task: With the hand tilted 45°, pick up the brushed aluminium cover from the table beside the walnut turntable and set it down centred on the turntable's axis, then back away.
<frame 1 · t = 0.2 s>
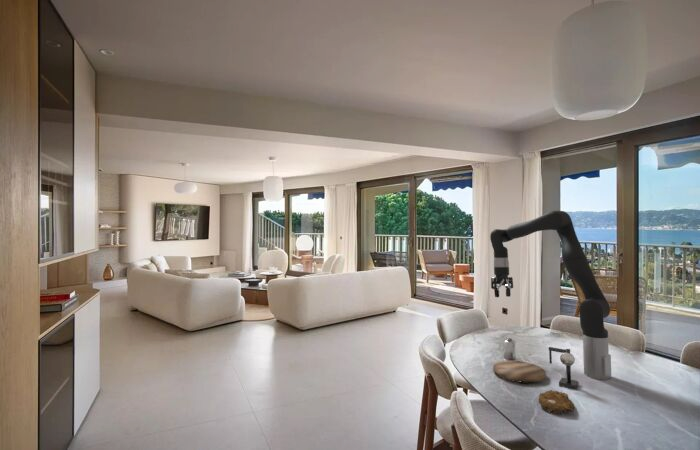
hand: (502, 296, 196), 28 cm above the table, tool pointing down, fingers open, 8 cm apart
cover: (509, 361, 178), on the table
decorative rock: (556, 407, 133), on the table
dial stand: (568, 385, 150), on the table
turntable: (518, 370, 161), point 2 cm above the table, hinge at 0.0°
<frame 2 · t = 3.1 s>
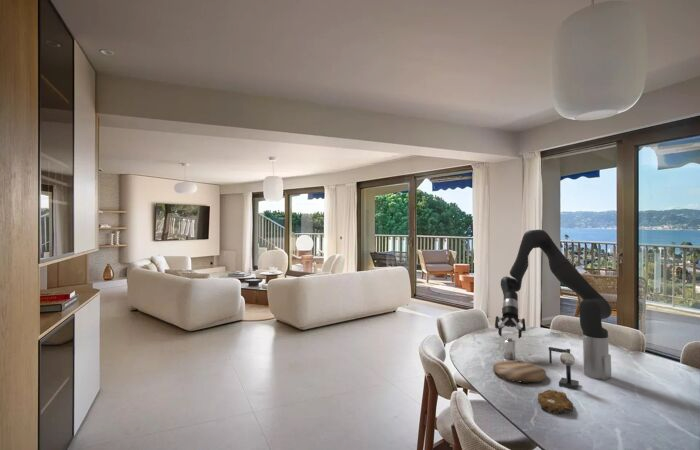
hand: (509, 336, 183), 11 cm above the table, tool tilted 45°, fingers open, 8 cm apart
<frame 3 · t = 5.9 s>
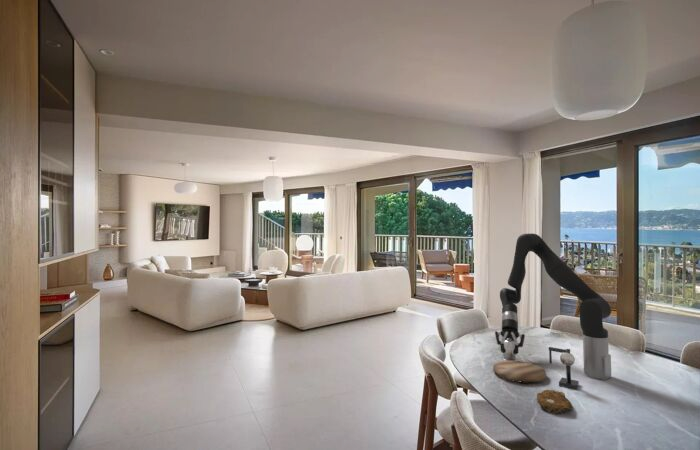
hand: (509, 352, 176), 5 cm above the table, tool tilted 45°, fingers closed on cover, 5 cm apart
cover: (509, 361, 178), on the table, touching gripper
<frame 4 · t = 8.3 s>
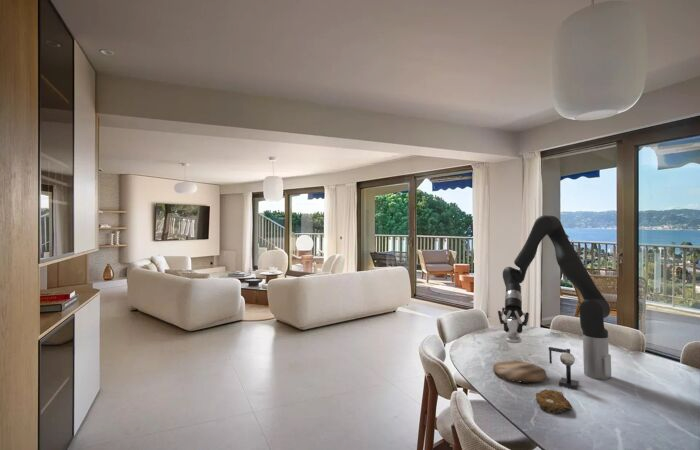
hand: (513, 331, 170), 17 cm above the table, tool tilted 45°, fingers closed on cover, 5 cm apart
cover: (513, 340, 171), point 12 cm above the table, touching gripper
when the fingers open (9 cm above the table, at t = 11.0 s): cover drops 1 cm, resting on turntable.
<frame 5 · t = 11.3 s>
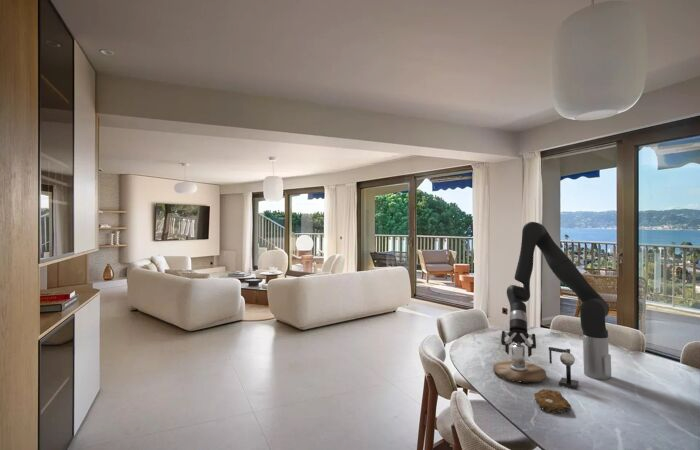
hand: (518, 354, 160), 9 cm above the table, tool tilted 45°, fingers open, 8 cm apart
cover: (518, 368, 161), point 3 cm above the table, touching turntable
turntable: (518, 370, 161), point 2 cm above the table, hinge at 0.0°, touching cover
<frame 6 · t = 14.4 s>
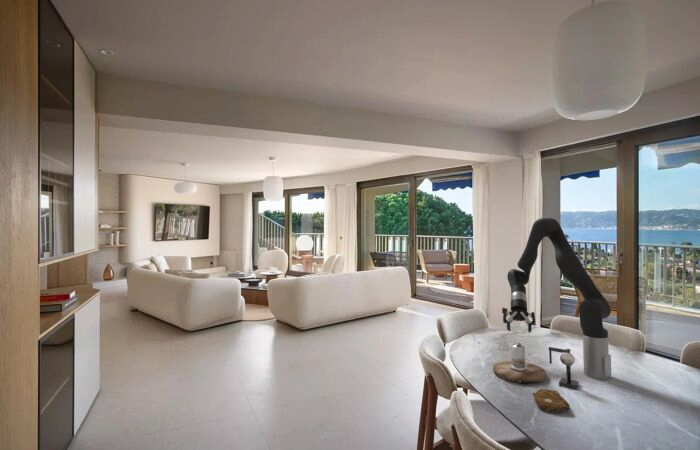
hand: (519, 331, 174), 16 cm above the table, tool tilted 45°, fingers open, 8 cm apart
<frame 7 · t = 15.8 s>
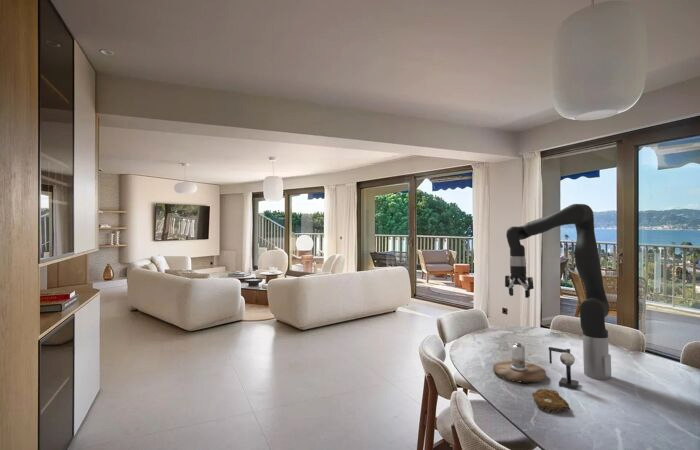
hand: (519, 296, 189), 29 cm above the table, tool pointing down, fingers open, 8 cm apart
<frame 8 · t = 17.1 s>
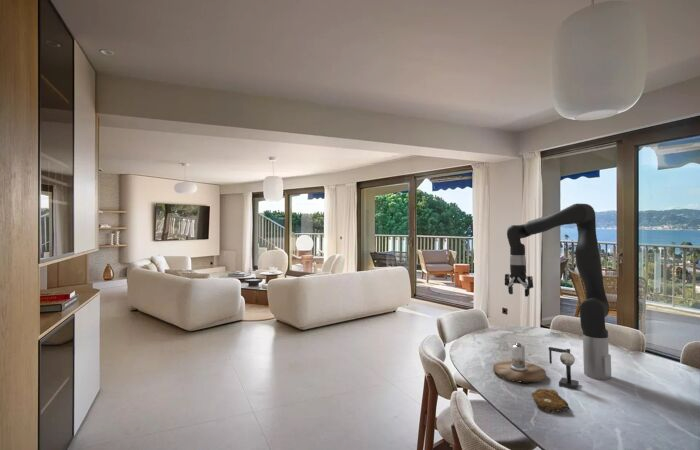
hand: (518, 295, 189), 30 cm above the table, tool pointing down, fingers open, 8 cm apart
at the end: cover 0.1 cm from the turntable (horizontally); cover tilted 0°; cover touching turntable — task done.
